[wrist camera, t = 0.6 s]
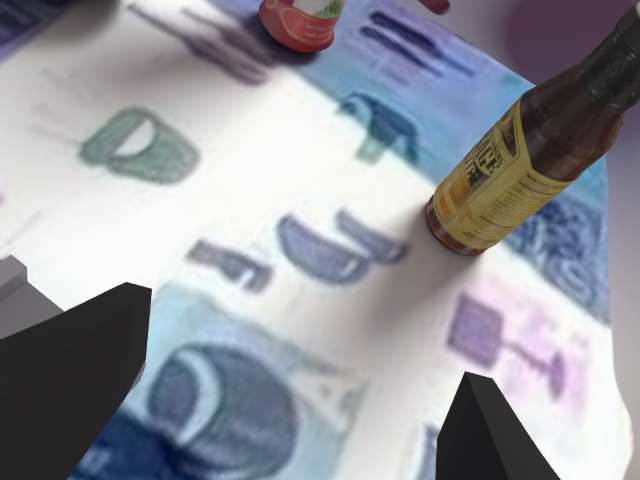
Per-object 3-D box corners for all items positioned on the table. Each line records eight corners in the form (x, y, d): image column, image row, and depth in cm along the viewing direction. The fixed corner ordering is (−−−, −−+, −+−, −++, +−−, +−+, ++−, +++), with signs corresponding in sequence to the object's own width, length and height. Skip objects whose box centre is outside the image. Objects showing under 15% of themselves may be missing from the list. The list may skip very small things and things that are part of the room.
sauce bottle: (432, 181, 47) (621, -37, 31) (495, 221, 47) (712, 25, 32) (410, 234, 42) (615, 12, 27) (480, 278, 43) (722, 83, 27)
